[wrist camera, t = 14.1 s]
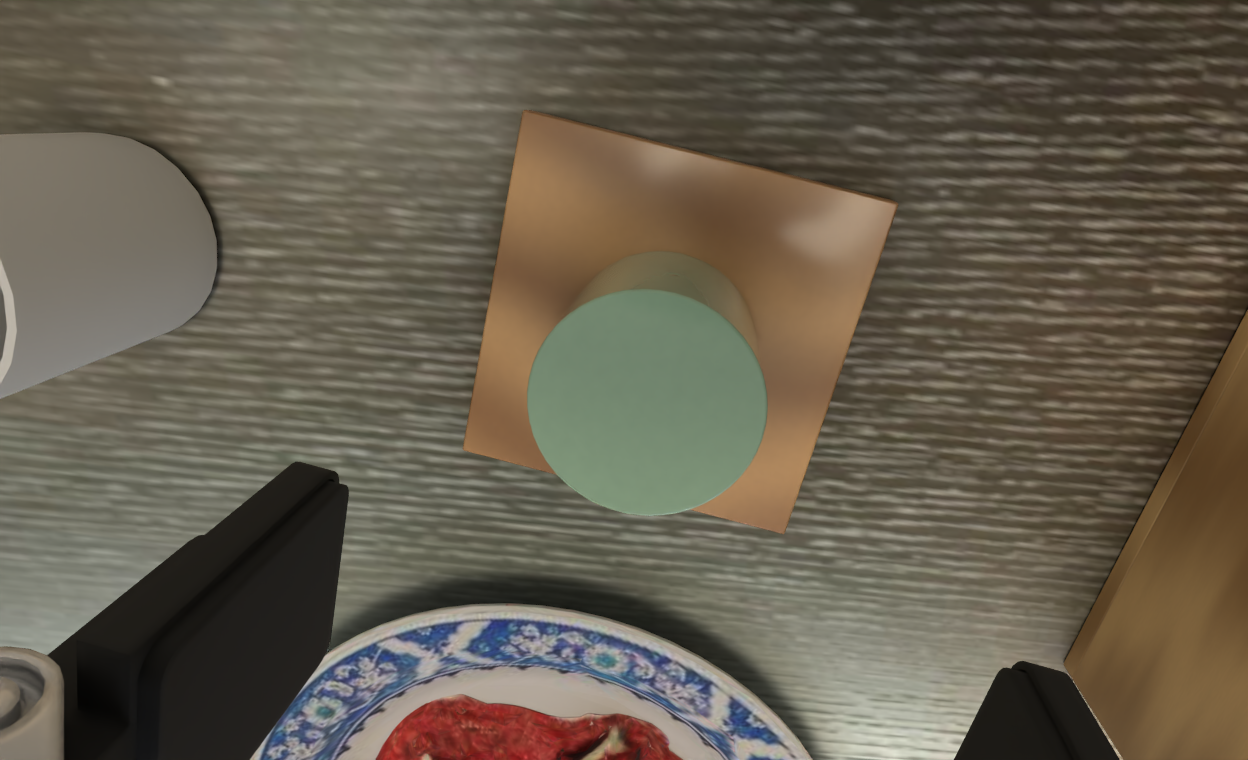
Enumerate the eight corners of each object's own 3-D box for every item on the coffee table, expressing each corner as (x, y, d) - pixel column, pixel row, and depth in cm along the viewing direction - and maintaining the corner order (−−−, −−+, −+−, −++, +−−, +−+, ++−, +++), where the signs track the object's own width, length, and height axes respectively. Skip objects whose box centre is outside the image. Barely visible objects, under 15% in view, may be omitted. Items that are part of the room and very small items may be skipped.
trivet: (529, 109, 25) (522, 109, 24) (892, 199, 25) (899, 203, 24) (470, 440, 29) (461, 450, 28) (782, 521, 29) (784, 535, 28)
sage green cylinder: (587, 229, 25) (551, 262, 20) (780, 277, 25) (799, 325, 20) (549, 408, 28) (507, 483, 22) (727, 454, 27) (730, 542, 22)
